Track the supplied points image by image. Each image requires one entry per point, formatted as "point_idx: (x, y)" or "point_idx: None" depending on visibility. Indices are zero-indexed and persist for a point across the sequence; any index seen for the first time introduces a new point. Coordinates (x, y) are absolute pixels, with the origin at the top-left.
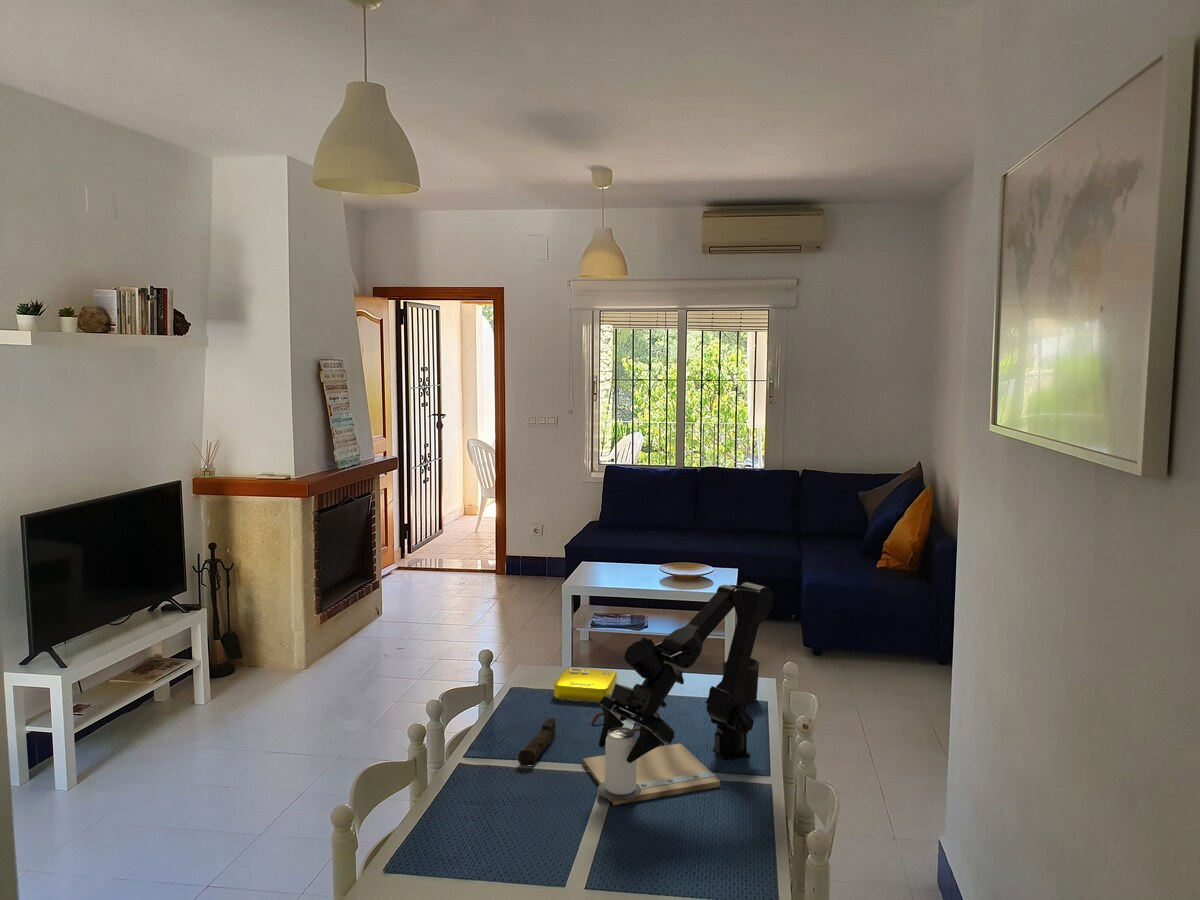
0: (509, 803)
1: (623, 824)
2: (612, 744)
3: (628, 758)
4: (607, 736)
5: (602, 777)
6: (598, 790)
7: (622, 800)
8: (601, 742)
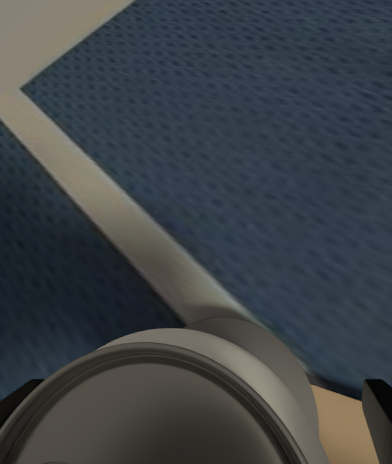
0: (364, 105)
1: (79, 292)
2: (125, 337)
3: (21, 387)
4: (238, 370)
5: (366, 431)
6: (259, 331)
7: None
8: (375, 403)
